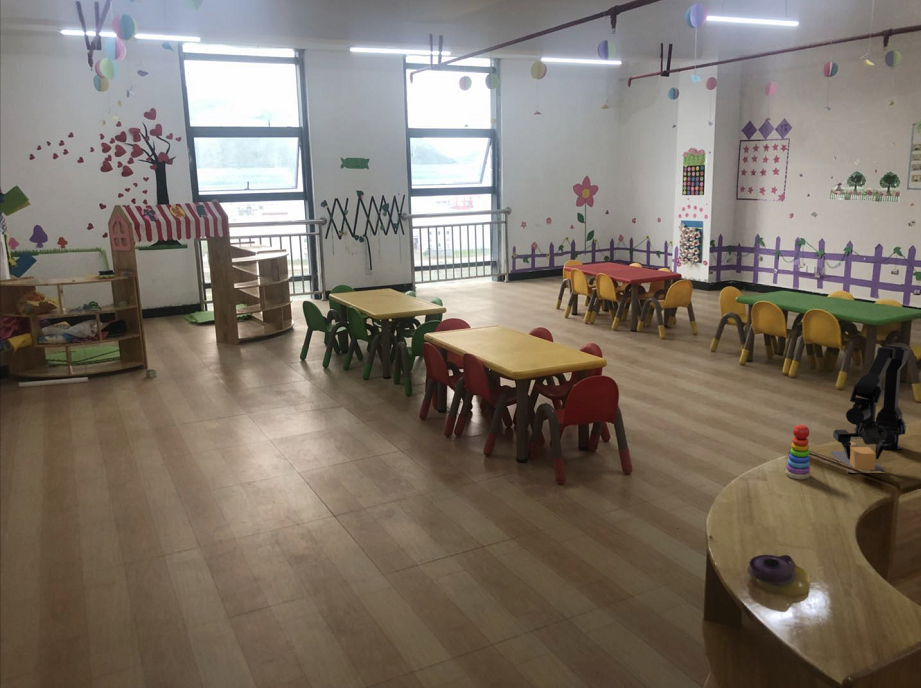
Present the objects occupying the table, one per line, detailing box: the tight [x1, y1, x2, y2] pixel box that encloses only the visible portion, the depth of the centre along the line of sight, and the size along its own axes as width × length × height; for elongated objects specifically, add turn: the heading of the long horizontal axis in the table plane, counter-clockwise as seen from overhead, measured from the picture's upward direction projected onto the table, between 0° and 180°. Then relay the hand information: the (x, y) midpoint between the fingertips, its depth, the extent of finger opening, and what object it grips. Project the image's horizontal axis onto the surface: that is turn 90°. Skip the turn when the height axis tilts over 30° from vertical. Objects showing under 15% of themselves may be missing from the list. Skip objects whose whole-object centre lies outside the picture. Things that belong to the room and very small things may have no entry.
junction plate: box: [829, 441, 886, 473], centre depth 263 cm, size 18×12×6 cm, turn 172°
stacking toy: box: [785, 424, 811, 480], centre depth 255 cm, size 8×8×19 cm
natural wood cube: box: [850, 446, 877, 470], centre depth 258 cm, size 6×6×6 cm
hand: (862, 458), depth 258 cm, fingers open, 9 cm apart
